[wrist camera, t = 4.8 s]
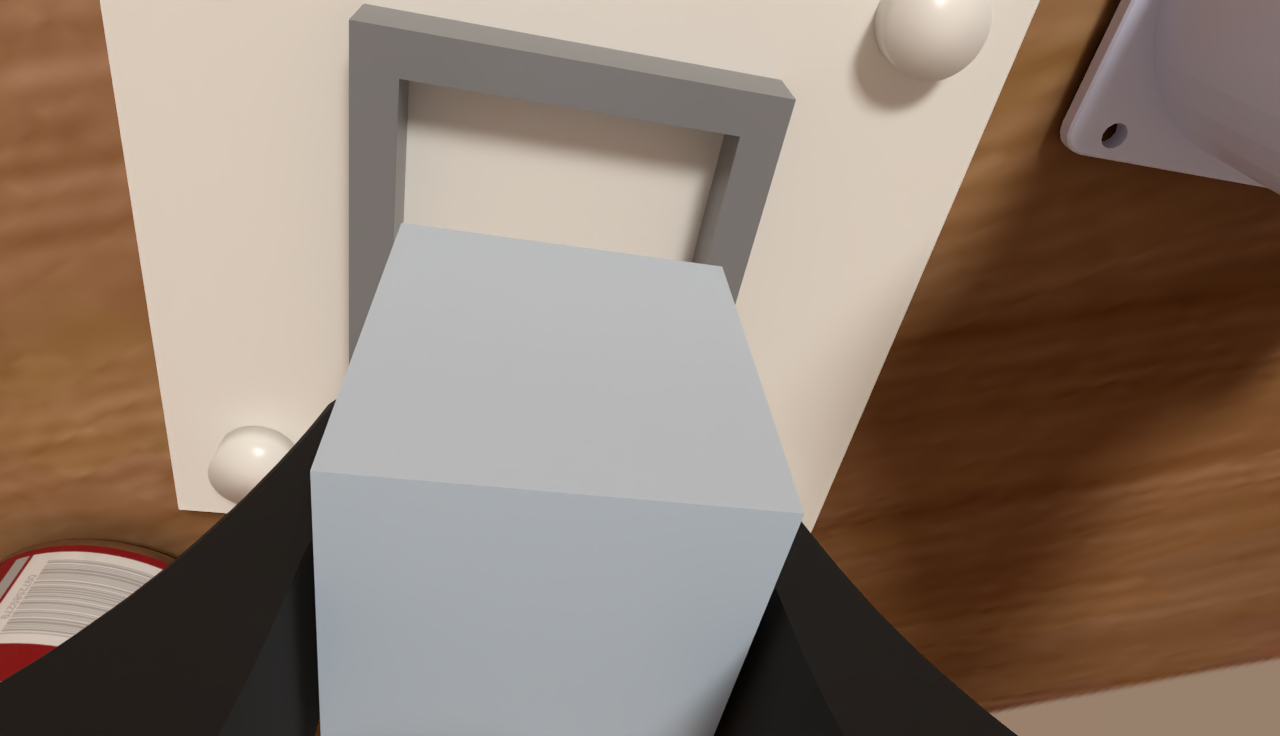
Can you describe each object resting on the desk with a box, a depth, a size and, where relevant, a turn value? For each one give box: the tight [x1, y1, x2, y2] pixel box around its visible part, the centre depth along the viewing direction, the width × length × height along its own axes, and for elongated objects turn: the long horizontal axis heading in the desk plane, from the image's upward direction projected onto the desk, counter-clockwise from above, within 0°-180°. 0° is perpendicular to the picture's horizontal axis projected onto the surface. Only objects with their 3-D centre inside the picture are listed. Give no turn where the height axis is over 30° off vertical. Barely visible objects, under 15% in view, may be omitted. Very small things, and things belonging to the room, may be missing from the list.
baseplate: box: [100, 0, 1040, 533], centre depth 17 cm, size 16×16×2 cm
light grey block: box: [310, 223, 804, 736], centre depth 11 cm, size 4×6×5 cm
